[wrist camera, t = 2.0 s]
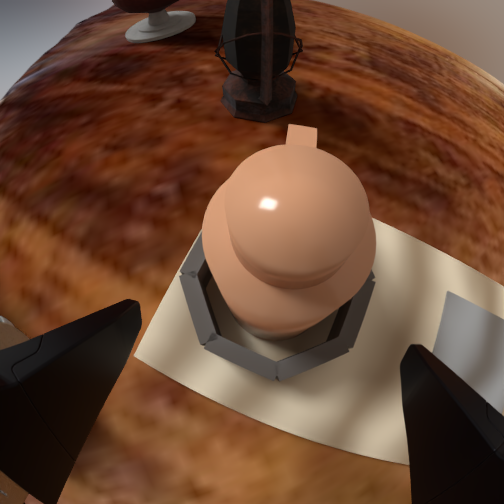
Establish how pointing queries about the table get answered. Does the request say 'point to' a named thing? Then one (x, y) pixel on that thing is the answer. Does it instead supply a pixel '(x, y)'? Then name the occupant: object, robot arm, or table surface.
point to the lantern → (259, 58)
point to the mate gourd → (155, 20)
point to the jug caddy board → (342, 381)
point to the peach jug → (289, 237)
